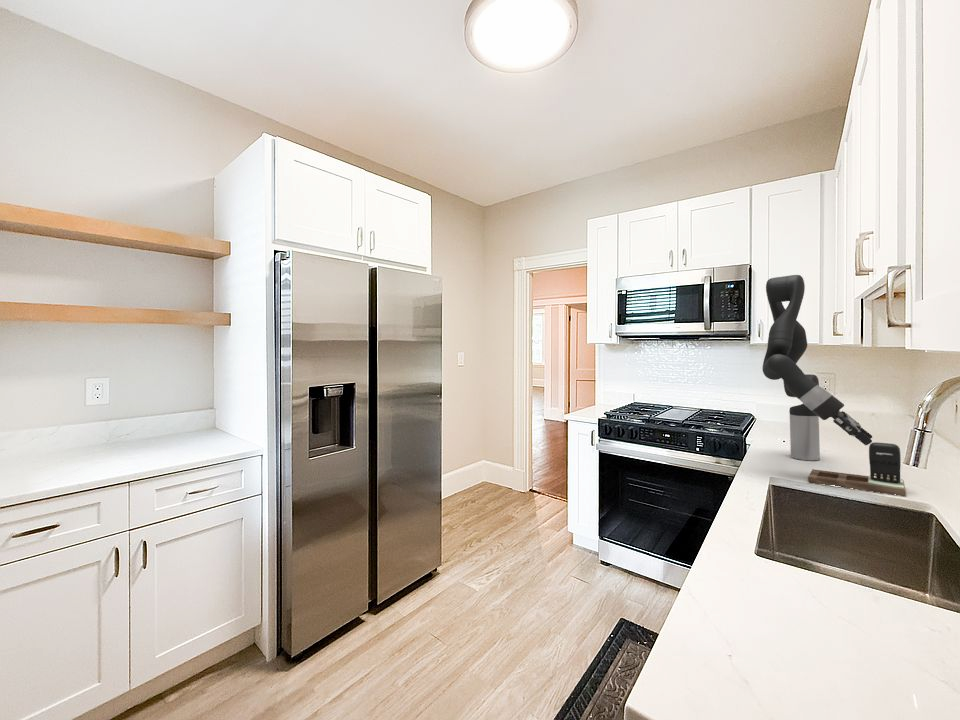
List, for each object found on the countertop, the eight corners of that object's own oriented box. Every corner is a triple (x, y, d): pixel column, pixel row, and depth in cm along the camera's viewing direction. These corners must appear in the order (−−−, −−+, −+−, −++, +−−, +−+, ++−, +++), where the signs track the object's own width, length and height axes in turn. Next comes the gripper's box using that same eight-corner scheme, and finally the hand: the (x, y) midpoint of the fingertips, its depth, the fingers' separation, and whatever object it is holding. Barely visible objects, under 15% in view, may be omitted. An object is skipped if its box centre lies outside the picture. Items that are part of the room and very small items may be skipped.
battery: (869, 480, 129) (868, 442, 129) (869, 477, 132) (868, 441, 132) (901, 484, 124) (900, 445, 124) (901, 481, 127) (900, 443, 127)
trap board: (812, 475, 145) (812, 468, 145) (903, 486, 130) (903, 479, 130) (808, 482, 136) (808, 475, 136) (905, 496, 121) (905, 488, 121)
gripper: (829, 396, 132) (881, 437, 124) (832, 392, 142) (881, 430, 134) (808, 412, 135) (857, 453, 127) (813, 407, 146) (859, 444, 138)
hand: (869, 441), depth 131 cm, fingers open, 8 cm apart
